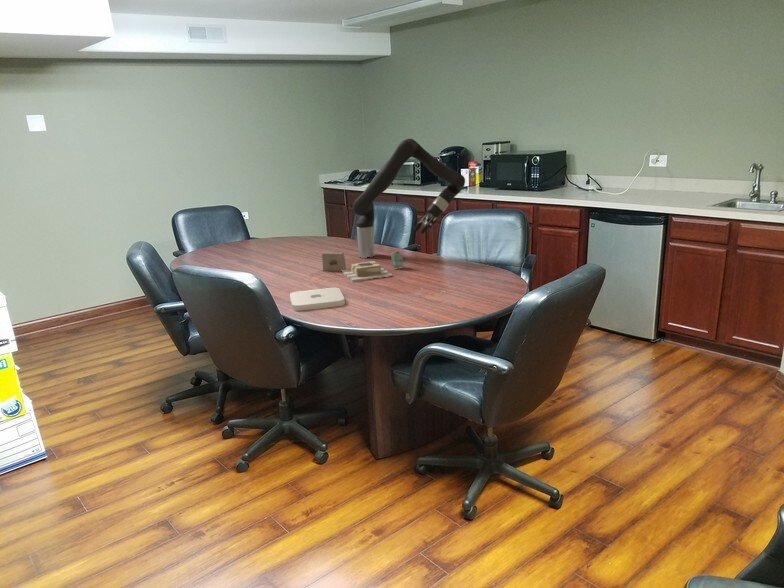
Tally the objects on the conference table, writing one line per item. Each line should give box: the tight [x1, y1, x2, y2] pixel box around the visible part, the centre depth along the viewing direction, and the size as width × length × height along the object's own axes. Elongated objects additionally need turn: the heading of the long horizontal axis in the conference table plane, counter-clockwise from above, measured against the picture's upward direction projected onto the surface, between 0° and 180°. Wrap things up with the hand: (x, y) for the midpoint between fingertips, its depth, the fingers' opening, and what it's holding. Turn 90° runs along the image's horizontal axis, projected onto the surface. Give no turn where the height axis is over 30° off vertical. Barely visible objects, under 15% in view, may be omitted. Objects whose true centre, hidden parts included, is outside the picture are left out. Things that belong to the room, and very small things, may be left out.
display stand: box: [341, 260, 393, 283], centre depth 289 cm, size 22×20×5 cm
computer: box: [289, 287, 346, 312], centre depth 249 cm, size 22×22×3 cm
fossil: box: [321, 251, 347, 272], centre depth 300 cm, size 12×4×10 cm, turn 70°
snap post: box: [391, 250, 404, 268], centre depth 298 cm, size 4×4×9 cm
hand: (418, 231), depth 297 cm, fingers open, 8 cm apart
